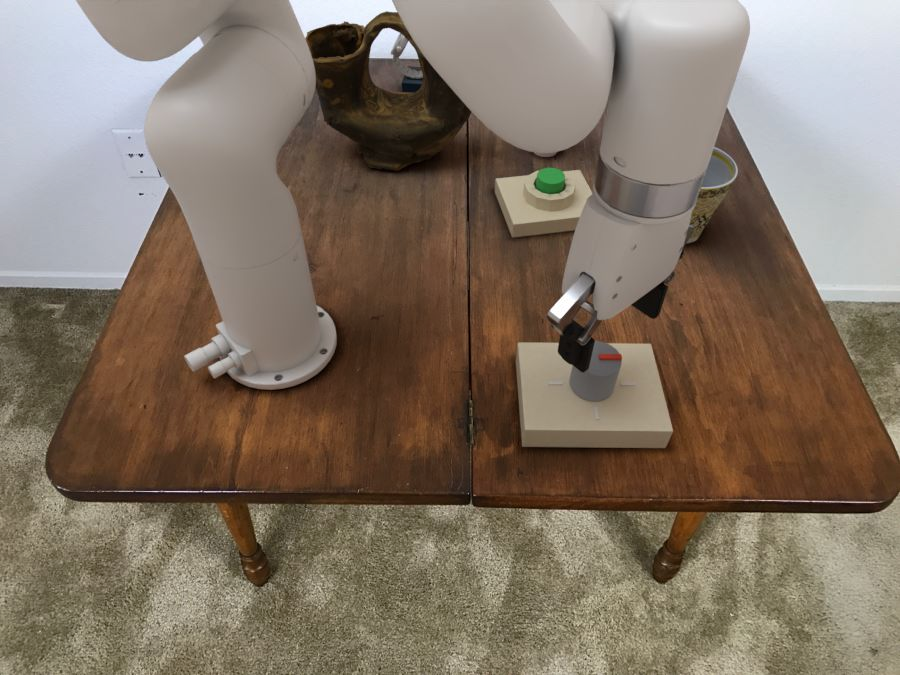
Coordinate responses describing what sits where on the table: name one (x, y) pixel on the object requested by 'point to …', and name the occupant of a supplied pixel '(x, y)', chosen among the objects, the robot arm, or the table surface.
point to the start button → (550, 181)
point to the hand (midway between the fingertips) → (608, 334)
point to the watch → (406, 67)
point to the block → (541, 204)
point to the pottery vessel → (381, 97)
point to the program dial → (597, 374)
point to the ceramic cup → (712, 190)
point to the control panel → (590, 402)
